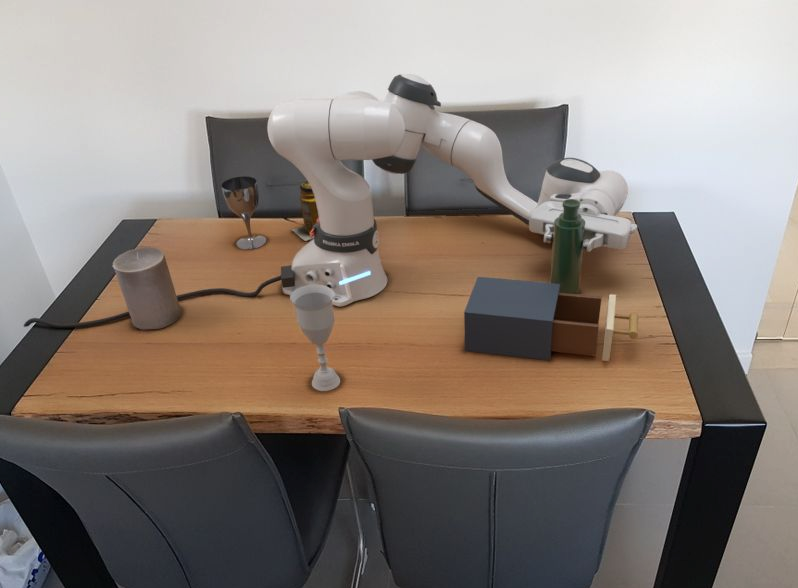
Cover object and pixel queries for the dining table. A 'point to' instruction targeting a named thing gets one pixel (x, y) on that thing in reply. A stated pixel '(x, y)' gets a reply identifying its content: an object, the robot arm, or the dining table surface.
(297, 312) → the chalice
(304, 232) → the condiment
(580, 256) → the bottle
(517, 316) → the cabinet
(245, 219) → the shiny metal goblet
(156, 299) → the pillar candle
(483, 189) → the robot arm
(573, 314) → the drawer
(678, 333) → the dining table surface
